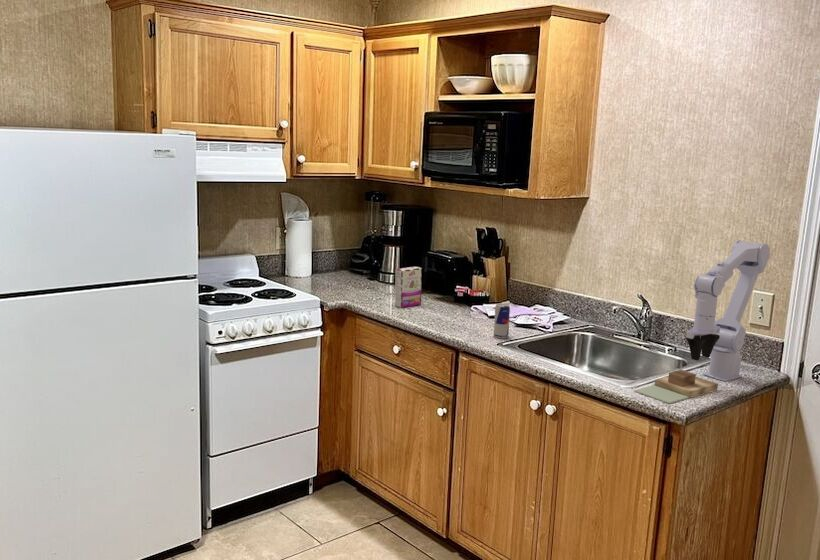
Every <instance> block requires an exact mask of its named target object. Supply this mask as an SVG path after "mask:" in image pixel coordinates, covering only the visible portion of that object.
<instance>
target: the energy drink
mask: <svg viewBox="0 0 820 560" xmlns="http://www.w3.org/2000/svg"><path fill="white" fill-rule="evenodd" d="M494 308H495V309H494V323H493V324H494V325H493V328H494V329H493V337H494V338H495V339H500V340H505V339H508V337H509V333H510V332H509V331H510V329H509V328H510V313H511V312H510V310H511V307H510V305H509V304H506V303H497V304H496V305H495V307H494Z"/></svg>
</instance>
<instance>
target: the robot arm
mask: <svg viewBox="0 0 820 560" xmlns="http://www.w3.org/2000/svg"><path fill="white" fill-rule="evenodd" d="M770 256H771V253H770V246H769V244H767V243H759V242H751V241H743V240H740V239H737V240H736V241H735V242H734V243H732V246H731V252H730V254H729V255H728V256H727V257H726V259H725V260H724V261H718V262H717V263H716V264H715V265H714V266H712V267H711V269H709V270H708V271H707V272H706V273H705V274H704V273H703V274H702V273H701V274H700V275H698V276H697V277H696V278H695V281H694V283H693V289H694V291H695V292H694V293H695V294H694V297H695V298H694V299H696V303H695V310H694V311H695V313H694V321H693V322H694V323H693V327H691V328H690V329H689V330H687V331H686V332H685V333H686V334H685V340H686V342H687V343H688V346H689V347H688V348H689V351H690V356H691V357H690V358H691V360H693V361H699V360H700V359H701V356H702V357H703V358H706V359H709V358H710V359H709V360H710V361H709V369H708V371H705V372H703V373H702V375H703V376H706V377H709V378H713V379H715V380H720V381H723V382H728V381H732V380H735V379H739V378H741V377H743V375H741V374H740V371H741V363H742V354H741V352H740V350H741V349H742V348H743V346H744V343H745V337H746V334H747V332H746V328H745V327H744V326H743V325H742V323H741V321H742V319H743V316H744V314H745V310H746V308H747V306H748V302H749V300H750V298H751V295H752V292H753V291H754V288H755V285H756V283H757V280H758V278H759V274H762V273H764V271H765V269H766V267H767V265H768V262H769V260H770ZM735 269H736V270H738V271H739V272H740V274H739V277H738V280H737V282H736V284H735V287H734V290H733V292H732V295H731V297H730V300H729V302H728V305H727V307H726V310H725V313H724V314H723V317H720V318H718V319H716V316H717V314H716V313H717V306H718V297H719V295H721V293H722V291H723V289H724V287H725V284H726V283H727V282H728V280H729V279H731V278H732V277H733V275H734V270H735Z"/></svg>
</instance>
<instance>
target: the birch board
mask: <svg viewBox="0 0 820 560" xmlns="http://www.w3.org/2000/svg"><path fill="white" fill-rule="evenodd" d="M668 377H669V375H668V376H665V377H661V378H657V379H655V380H654V385H655V386H658V387H661V388H664V389H667V390H670V391H673V392H676V393H678V394H681V395H684V396H687V397H689V398H688V399H691V398H695V397H698V396H701V395H705V394H709V393H711V392H714V391H718V387H719V384H718V382H714V381H711V380H709V379H704V378H702V377H698V376H696V377H695V384H692V385H689V386H685V387H681V386H677V385H674V384H671V383H668Z"/></svg>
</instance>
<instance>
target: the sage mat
mask: <svg viewBox="0 0 820 560" xmlns="http://www.w3.org/2000/svg"><path fill="white" fill-rule="evenodd" d="M633 392H634V393H637V394H640V395H642V396H646V397H647V398H650V399H654V400H657V401H659V402H662V403H664V404H667V405H670V404H674V403H678V402H681V401H684V400H688V399H690V398H689V397H687V396H684V395H681V394H678V393H676V392H673V391H670V390H667V389H664V388H661V387H658V386H655V384H654V385H649V386H644V387H642V388H638V389H635V390H633Z"/></svg>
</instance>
